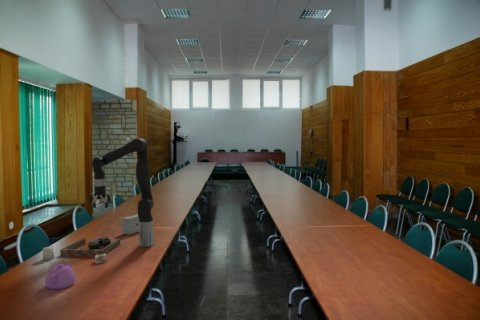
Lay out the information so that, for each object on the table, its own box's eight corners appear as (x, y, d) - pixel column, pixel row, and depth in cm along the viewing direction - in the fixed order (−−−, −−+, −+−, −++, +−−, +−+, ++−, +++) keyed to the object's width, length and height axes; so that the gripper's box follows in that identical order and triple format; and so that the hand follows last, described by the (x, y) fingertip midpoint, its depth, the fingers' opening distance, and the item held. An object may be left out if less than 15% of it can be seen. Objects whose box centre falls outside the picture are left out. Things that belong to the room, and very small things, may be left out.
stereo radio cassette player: (141, 228, 286) (140, 204, 285) (148, 229, 282) (148, 205, 281) (121, 234, 268) (120, 209, 267) (128, 235, 264) (127, 210, 263)
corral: (120, 244, 241) (120, 238, 241) (102, 256, 215) (102, 250, 215) (82, 243, 243) (82, 238, 243) (60, 255, 217) (60, 249, 217)
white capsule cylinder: (56, 257, 215) (55, 246, 214) (50, 260, 209) (49, 249, 208) (47, 257, 215) (46, 246, 215) (40, 260, 209) (40, 249, 209)
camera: (102, 247, 236) (102, 232, 235) (112, 249, 230) (112, 234, 230) (81, 253, 222) (81, 238, 222) (91, 256, 217) (91, 240, 216)
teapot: (83, 276, 185) (82, 256, 184) (66, 292, 165) (66, 270, 164) (56, 276, 184) (56, 257, 183) (37, 293, 164) (36, 271, 163)
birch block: (105, 259, 210) (105, 253, 210) (106, 261, 207) (106, 255, 206) (95, 261, 207) (94, 255, 207) (96, 263, 204) (95, 257, 203)
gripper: (112, 184, 243) (112, 207, 244) (93, 184, 244) (93, 206, 245) (107, 185, 235) (107, 209, 236) (87, 185, 237) (88, 208, 238)
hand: (100, 207), depth 241 cm, fingers open, 8 cm apart
